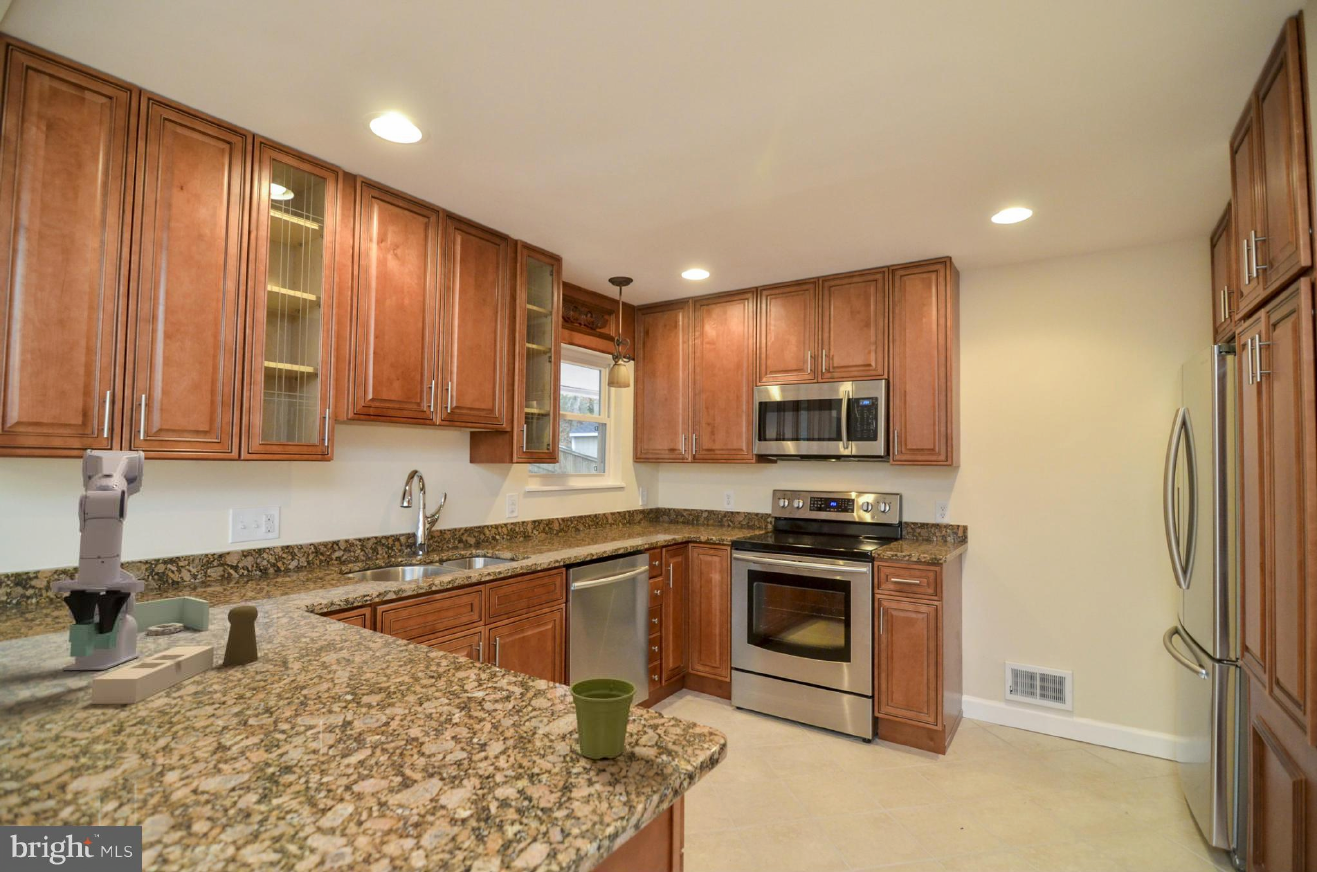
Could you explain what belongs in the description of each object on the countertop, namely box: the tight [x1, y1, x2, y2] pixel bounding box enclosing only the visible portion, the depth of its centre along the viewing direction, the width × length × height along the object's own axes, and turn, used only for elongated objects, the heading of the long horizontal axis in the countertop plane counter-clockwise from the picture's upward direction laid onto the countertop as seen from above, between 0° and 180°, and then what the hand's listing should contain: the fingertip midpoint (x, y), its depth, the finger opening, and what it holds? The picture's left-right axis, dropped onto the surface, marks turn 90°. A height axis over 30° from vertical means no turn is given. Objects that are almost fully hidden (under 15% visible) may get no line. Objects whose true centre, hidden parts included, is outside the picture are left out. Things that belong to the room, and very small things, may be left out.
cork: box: [222, 605, 259, 666], centre depth 129 cm, size 6×6×11 cm
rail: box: [90, 645, 215, 705], centre depth 115 cm, size 20×7×4 cm, turn 3°
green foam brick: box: [68, 616, 120, 658], centre depth 113 cm, size 7×3×6 cm, turn 3°
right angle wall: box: [129, 595, 211, 637], centre depth 152 cm, size 12×12×8 cm
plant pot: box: [569, 677, 637, 760], centre depth 89 cm, size 9×9×9 cm
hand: (95, 632), depth 113 cm, fingers closed on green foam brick, 3 cm apart
